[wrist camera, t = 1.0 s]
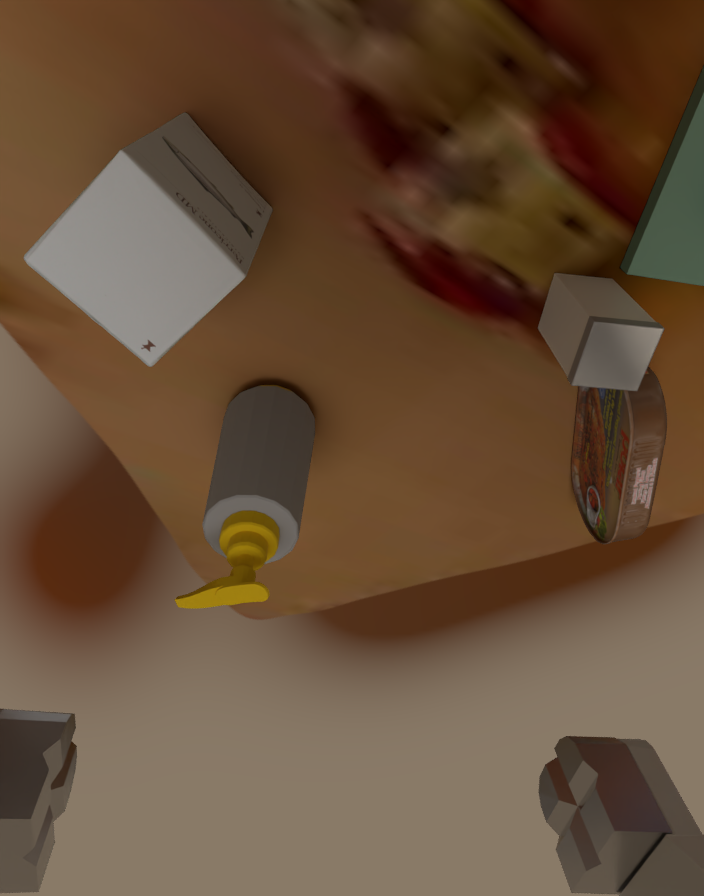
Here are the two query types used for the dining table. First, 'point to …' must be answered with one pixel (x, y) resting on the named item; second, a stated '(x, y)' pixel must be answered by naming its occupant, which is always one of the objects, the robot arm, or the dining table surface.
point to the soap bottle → (256, 491)
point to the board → (675, 207)
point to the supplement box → (155, 239)
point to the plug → (598, 332)
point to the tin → (618, 457)
